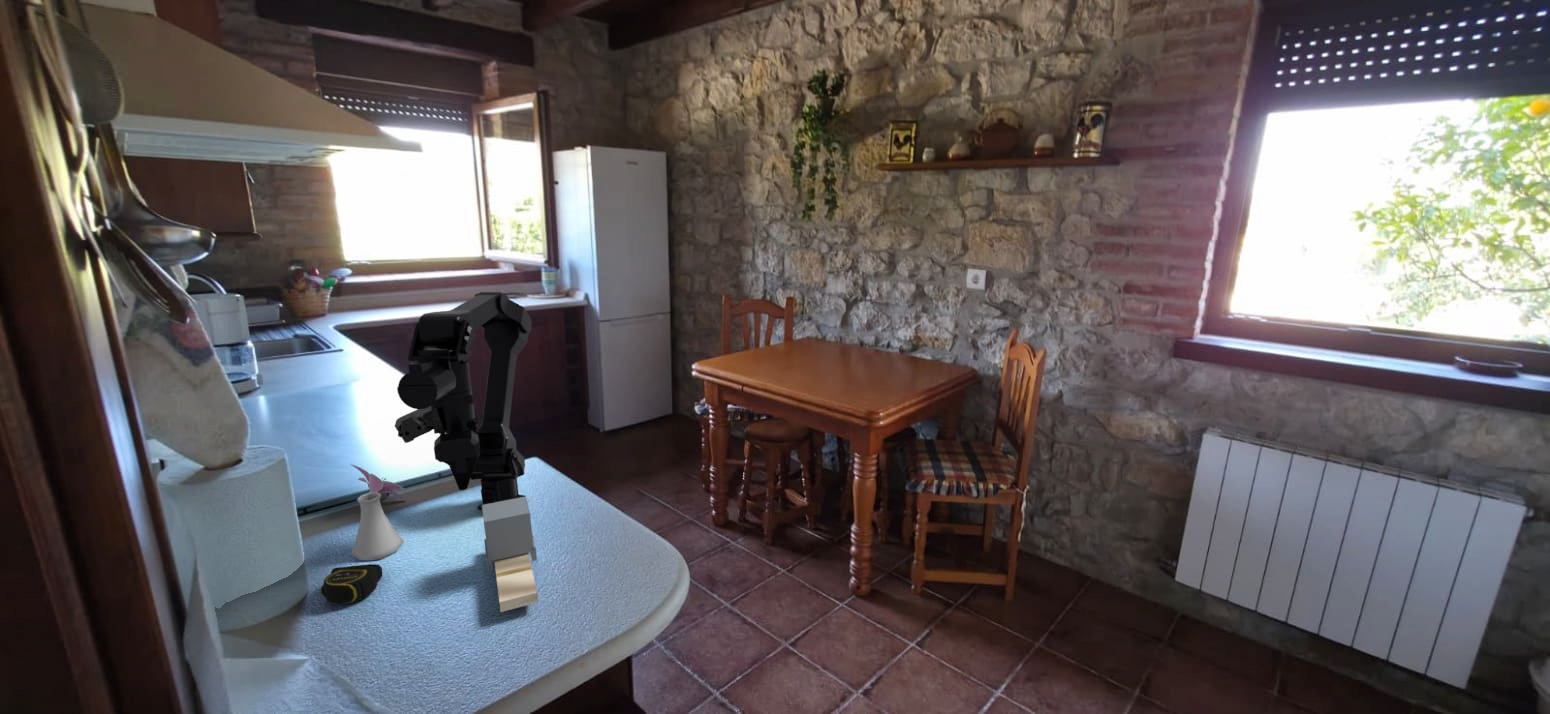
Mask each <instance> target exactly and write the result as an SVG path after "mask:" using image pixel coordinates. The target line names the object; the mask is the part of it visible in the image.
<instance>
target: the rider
mask: <svg viewBox="0 0 1550 714" xmlns="http://www.w3.org/2000/svg"><path fill="white" fill-rule="evenodd" d="M481 511H482V518H483V527H484V535H485V538H484V549H485V550H484V551H485V559H486V566H487V572H493V570H494V569H493V562H495V561H494V560H498V559H503V558H507V557H511V556H516V555H520V554H524V553H529V554H530V556H531V558H530V559H531V562H536V561H538V558H537V547H536V542H535V539H534V535H533V528H532V520H531V519H532V518H531V511H530V508H529V504H528V498H527V496H526V497H521V498H516V499H510V500H505V501H500V502H495V503H490V504H484V505H482V510H481Z"/></svg>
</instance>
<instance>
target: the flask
mask: <svg viewBox="0 0 1550 714" xmlns="http://www.w3.org/2000/svg"><path fill="white" fill-rule="evenodd" d="M381 498H382V494H380V493H377V492H370V491H369V492H367V493H364V494H361V495H360V496H359V497H358V498H357V499H356V501H357V503H359V506H360V521H359V525H358V528H357V533H356V536H355V541H354V544H353V547H352V550H351V551H352V552H351V557H353V558H355V559H357V560H359V561H375V560H381V559H383V558H385V557H387V556H389V555H391V554H393V553H396V552H397V551H399V550H400V548H401V547H402V545H403V544H404V543H405V541H404V539H403V538H402V537H401V535H400V534H399V533H398V532H397V529H395V528H394V526H393V524H392V523H391V522H390V520H389V519H388V517H387V515H386V514H385V511H384V510H383V507H382V505H381Z"/></svg>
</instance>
